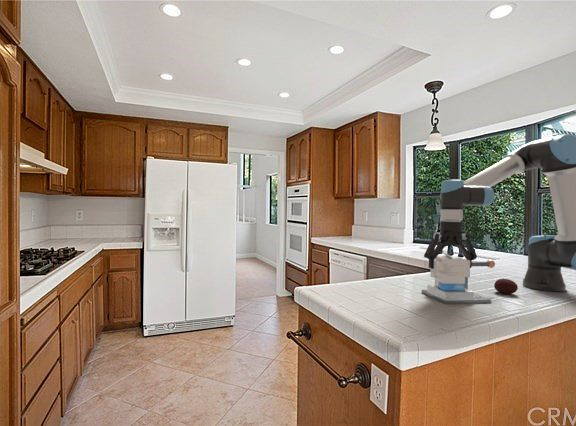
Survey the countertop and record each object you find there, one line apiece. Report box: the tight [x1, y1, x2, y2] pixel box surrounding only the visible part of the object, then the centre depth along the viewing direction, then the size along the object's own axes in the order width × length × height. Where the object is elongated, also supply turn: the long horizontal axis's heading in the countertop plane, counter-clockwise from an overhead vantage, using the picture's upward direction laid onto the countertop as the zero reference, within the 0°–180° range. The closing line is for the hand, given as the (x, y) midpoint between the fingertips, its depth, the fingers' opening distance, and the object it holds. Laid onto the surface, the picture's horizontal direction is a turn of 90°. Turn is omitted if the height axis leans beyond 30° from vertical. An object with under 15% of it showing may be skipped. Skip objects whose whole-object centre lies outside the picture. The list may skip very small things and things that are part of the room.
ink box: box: [434, 251, 466, 291], centre depth 126 cm, size 9×8×13 cm
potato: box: [493, 278, 519, 295], centre depth 136 cm, size 7×8×6 cm
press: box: [421, 277, 492, 305], centre depth 128 cm, size 18×16×10 cm
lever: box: [472, 259, 496, 269], centre depth 135 cm, size 16×4×3 cm, turn 98°
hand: (450, 277), depth 126 cm, fingers open, 13 cm apart
